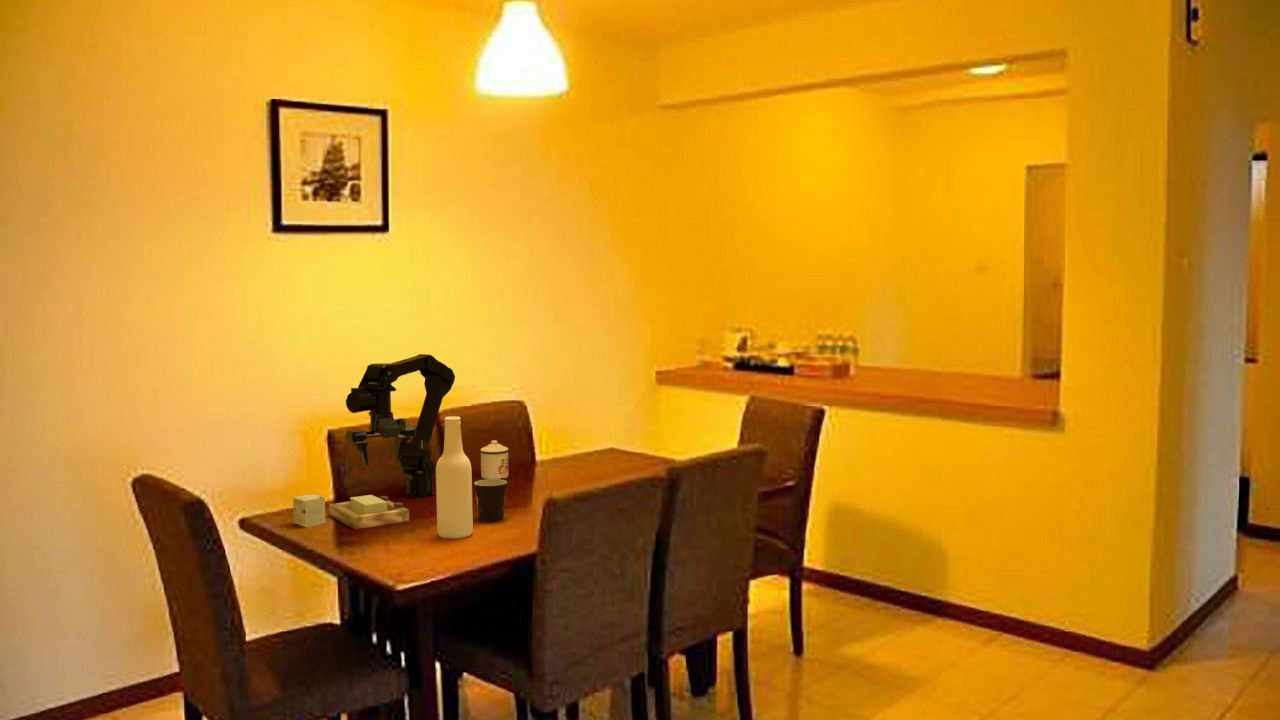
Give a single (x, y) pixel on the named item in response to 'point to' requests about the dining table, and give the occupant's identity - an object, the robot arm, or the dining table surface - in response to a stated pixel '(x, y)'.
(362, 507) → the cream rectangular block
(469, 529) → the alcohol
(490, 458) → the teacup with lid
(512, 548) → the dining table surface
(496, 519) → the coffee mug
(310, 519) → the skincare box
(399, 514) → the carcass
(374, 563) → the dining table surface
